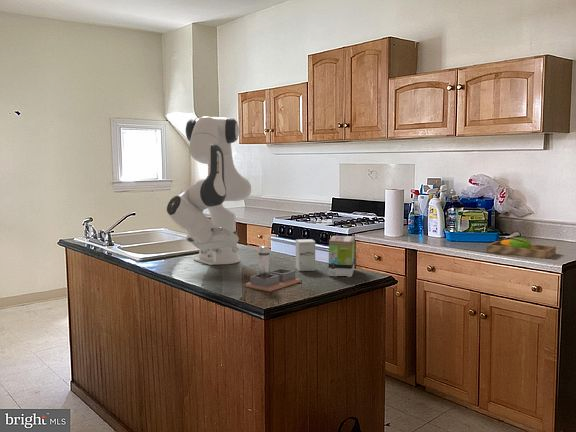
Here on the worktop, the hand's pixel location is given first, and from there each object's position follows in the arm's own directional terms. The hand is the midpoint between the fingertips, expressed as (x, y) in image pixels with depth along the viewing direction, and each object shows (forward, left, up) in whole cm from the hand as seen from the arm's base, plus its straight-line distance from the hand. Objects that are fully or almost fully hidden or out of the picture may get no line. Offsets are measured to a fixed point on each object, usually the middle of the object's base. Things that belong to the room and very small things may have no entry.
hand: (228, 251), depth 202 cm
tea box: (+22, +44, -13) cm, 51 cm away
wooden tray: (+68, +133, -13) cm, 150 cm away
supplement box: (+5, +41, -13) cm, 43 cm away
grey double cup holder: (+12, +12, -13) cm, 21 cm away
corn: (+65, +133, -14) cm, 149 cm away
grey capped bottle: (+11, +7, -12) cm, 18 cm away
